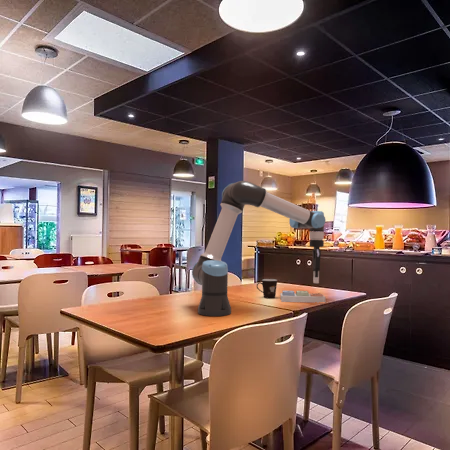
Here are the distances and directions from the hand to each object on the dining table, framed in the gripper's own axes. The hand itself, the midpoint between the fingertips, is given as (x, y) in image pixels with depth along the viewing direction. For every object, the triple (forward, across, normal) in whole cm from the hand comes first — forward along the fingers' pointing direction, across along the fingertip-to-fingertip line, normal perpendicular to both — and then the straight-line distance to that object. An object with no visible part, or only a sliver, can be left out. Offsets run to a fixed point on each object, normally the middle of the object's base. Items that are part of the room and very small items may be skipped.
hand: (316, 283), depth 211 cm
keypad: (+10, 0, +7) cm, 12 cm away
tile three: (+9, 0, 0) cm, 9 cm away
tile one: (+8, 0, +15) cm, 17 cm away
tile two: (+8, 0, +7) cm, 11 cm away
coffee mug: (+10, +7, +26) cm, 29 cm away
